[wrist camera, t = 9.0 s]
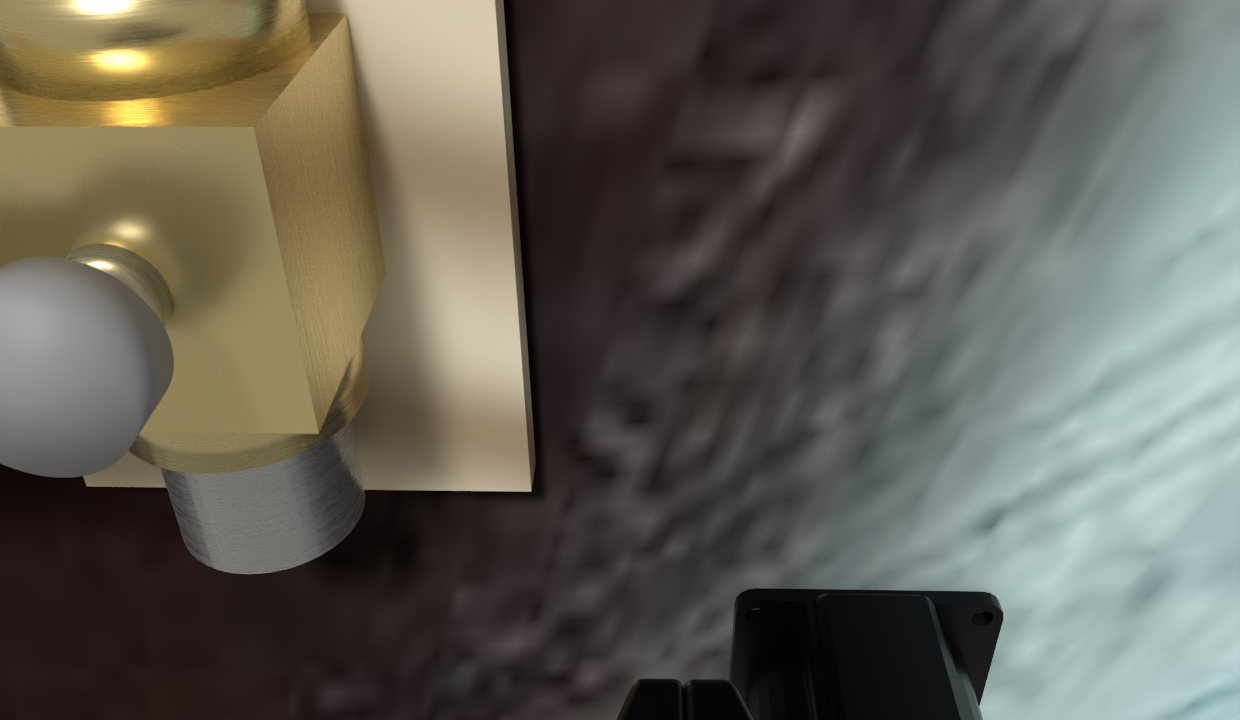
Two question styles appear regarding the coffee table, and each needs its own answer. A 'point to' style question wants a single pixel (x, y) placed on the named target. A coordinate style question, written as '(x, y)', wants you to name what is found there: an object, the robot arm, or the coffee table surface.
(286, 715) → the coffee table surface
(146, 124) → the valve
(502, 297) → the valve board
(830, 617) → the robot arm
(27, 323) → the valve lever
